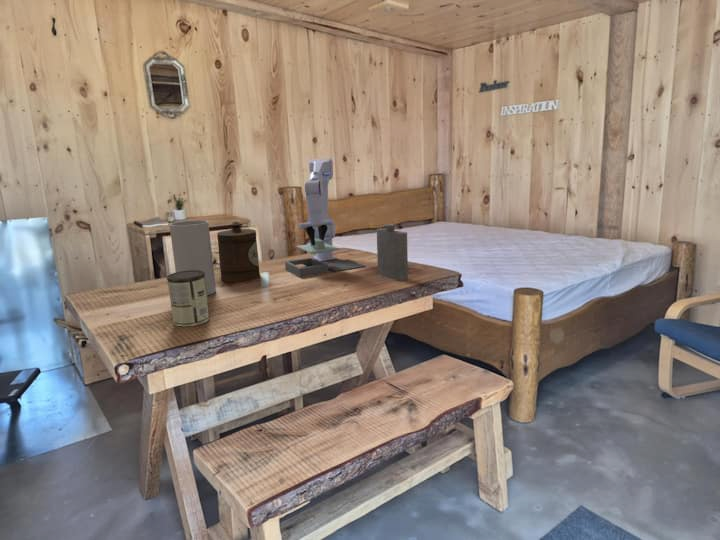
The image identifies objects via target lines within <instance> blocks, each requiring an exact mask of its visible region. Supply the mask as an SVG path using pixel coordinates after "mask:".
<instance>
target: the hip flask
mask: <svg viewBox="0 0 720 540" xmlns="http://www.w3.org/2000/svg"><path fill="white" fill-rule="evenodd" d="M395 226H396V225H395V223H387V224H386V223H385V224H384V227H385V228H381V227H380V228H376V250H377V253H376V254H377V255H376V256H377V274H378V275H379V276H381V275H382V276H381V277H384V276H385V277H384V278H387V277H388V279H390V278H391V280H394V279H395V281H399V280H400V281H401V282H407V281H408V280H409V276H408V275H409V271H408V269H409V266H408V265H409V264H408V261H409V259H408V258H409V257H408V232H406V231H397V230H395ZM406 280H407V281H406Z"/></svg>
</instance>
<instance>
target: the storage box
mask: <svg viewBox="0 0 720 540" xmlns="http://www.w3.org/2000/svg"><path fill="white" fill-rule="evenodd" d="M326 263H327V262H323V261H319V260H317V259H315V258H312V257H308V258H306V257H305V258H299V259H294V260H287V261H284V266H285V270H286V271H287V272H289V273H291V274H292V273H293V275H294V274H295V275H294V276H296V277H298V278H300V277H301V278H306V276H307V277H311V276H312V275H314V276H319V275H318V274H320V275H324V273H326V274H329V269H328V264H326ZM312 277H313V276H312Z"/></svg>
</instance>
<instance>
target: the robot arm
mask: <svg viewBox="0 0 720 540" xmlns="http://www.w3.org/2000/svg"><path fill="white" fill-rule="evenodd" d="M308 163H309V165H308V167H309V168H308V169H309V172H310V173H309V177H308V180H307V181H305V183H304V192H305V199H306V201H307V202H306V203H307V216H308V221H307V222H302V223H301V222H300V223H297V227H298V230H302V229H304V231H305V232H306V234H307V236H308V238H309V242H310V241H311V245H313V246H314V245H315V238H318V239H321V240H323V241H324V243H326V244H329V245H331V246H334V245H333V239H334V238H335V237H336V224H335V221H334V220H333V219H332V218H330V217H329V181H330V180H332V179H333V177H334V162H333V159H332V158H331V157H329V158H319V159H318V158H317V159H314V158H310V159H309V162H308ZM311 258H314V259H316V260H319V261H321V262H323V261H325V262H326V261H331V260H337V257H335V256H334V251H330V252H323V253H316V254H314V255H313V256H312V257H311Z"/></svg>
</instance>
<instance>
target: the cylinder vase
mask: <svg viewBox="0 0 720 540" xmlns="http://www.w3.org/2000/svg"><path fill="white" fill-rule="evenodd" d="M209 226H210V225H209V221H208V220H203V219H201V220H200V219H199V220H198V219H197V220H196V219H194V220H183V221H175V222H172V223H169V232H170V233H169V234H170V240H171V245H172V247H171V248H172V254H173V255H172V256H173V263H174V269H175V273H176V272H181V271H188V270H200V271H203V272H205V275H204V276H205V284H206V293H207V297H208V295H209V296H211V295H213V294H214V293H216V292H217V291H216V290H217V288H216V278H215V269H214V261H213V260H214V259H213V251H212V243H211V235H210V227H209Z"/></svg>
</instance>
